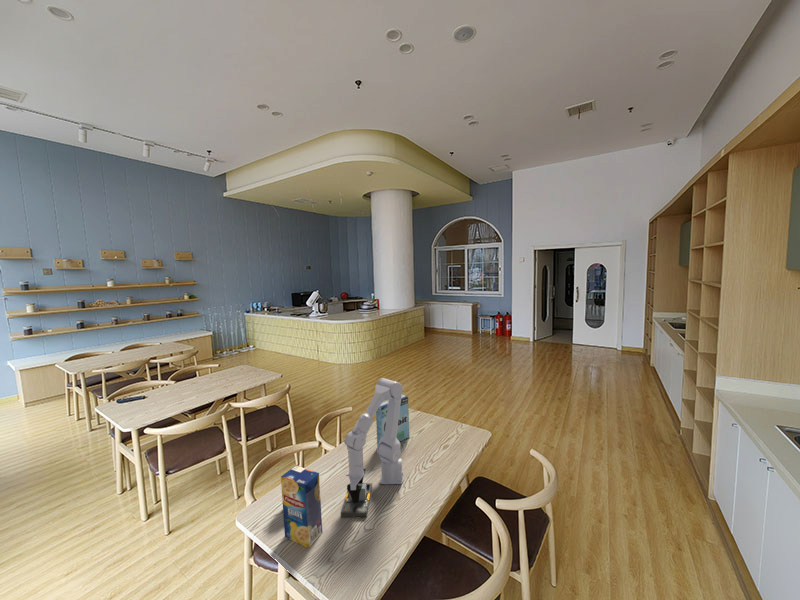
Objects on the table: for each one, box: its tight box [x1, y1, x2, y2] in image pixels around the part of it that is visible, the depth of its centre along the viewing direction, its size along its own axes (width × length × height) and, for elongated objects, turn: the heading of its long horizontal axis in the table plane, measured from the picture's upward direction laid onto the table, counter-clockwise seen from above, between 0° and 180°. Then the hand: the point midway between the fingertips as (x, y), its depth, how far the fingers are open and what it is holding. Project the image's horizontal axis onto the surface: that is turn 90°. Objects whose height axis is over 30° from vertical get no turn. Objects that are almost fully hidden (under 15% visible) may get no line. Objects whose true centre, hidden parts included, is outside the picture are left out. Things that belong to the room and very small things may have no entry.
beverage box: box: [280, 465, 323, 549], centre depth 109 cm, size 7×11×22 cm, turn 63°
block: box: [349, 484, 367, 501], centre depth 125 cm, size 6×3×6 cm, turn 88°
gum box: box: [375, 394, 410, 448], centre depth 167 cm, size 20×5×23 cm, turn 133°
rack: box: [340, 482, 373, 518], centre depth 125 cm, size 10×16×2 cm, turn 178°
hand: (357, 495), depth 125 cm, fingers open, 7 cm apart
